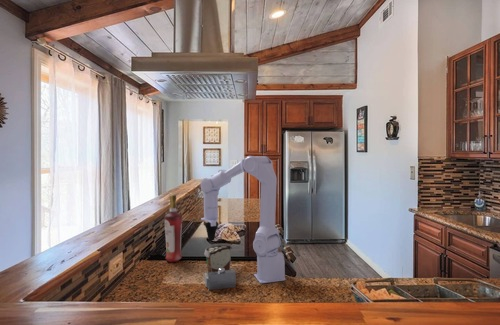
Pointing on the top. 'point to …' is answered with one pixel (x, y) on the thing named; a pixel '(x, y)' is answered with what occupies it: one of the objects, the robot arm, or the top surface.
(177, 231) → the liquor
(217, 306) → the top surface
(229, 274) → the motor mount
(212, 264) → the food container
